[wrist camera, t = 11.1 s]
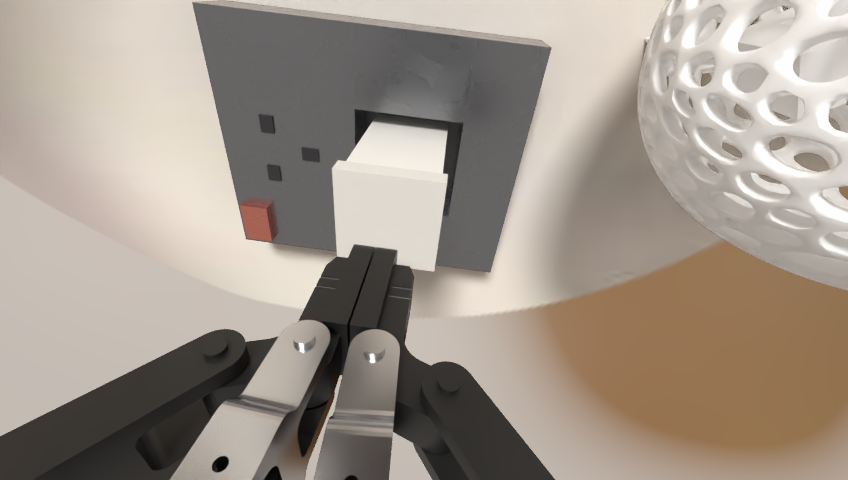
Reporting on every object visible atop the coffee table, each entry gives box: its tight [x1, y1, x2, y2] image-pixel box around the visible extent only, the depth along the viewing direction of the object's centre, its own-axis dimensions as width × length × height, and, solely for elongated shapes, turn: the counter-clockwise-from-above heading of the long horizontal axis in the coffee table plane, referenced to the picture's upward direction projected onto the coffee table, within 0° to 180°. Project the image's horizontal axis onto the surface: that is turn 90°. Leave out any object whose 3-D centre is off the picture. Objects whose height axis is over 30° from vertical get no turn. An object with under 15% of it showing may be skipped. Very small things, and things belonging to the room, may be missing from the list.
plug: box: [332, 113, 449, 272], centre depth 18 cm, size 4×4×8 cm
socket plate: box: [192, 0, 551, 272], centre depth 21 cm, size 16×13×3 cm
